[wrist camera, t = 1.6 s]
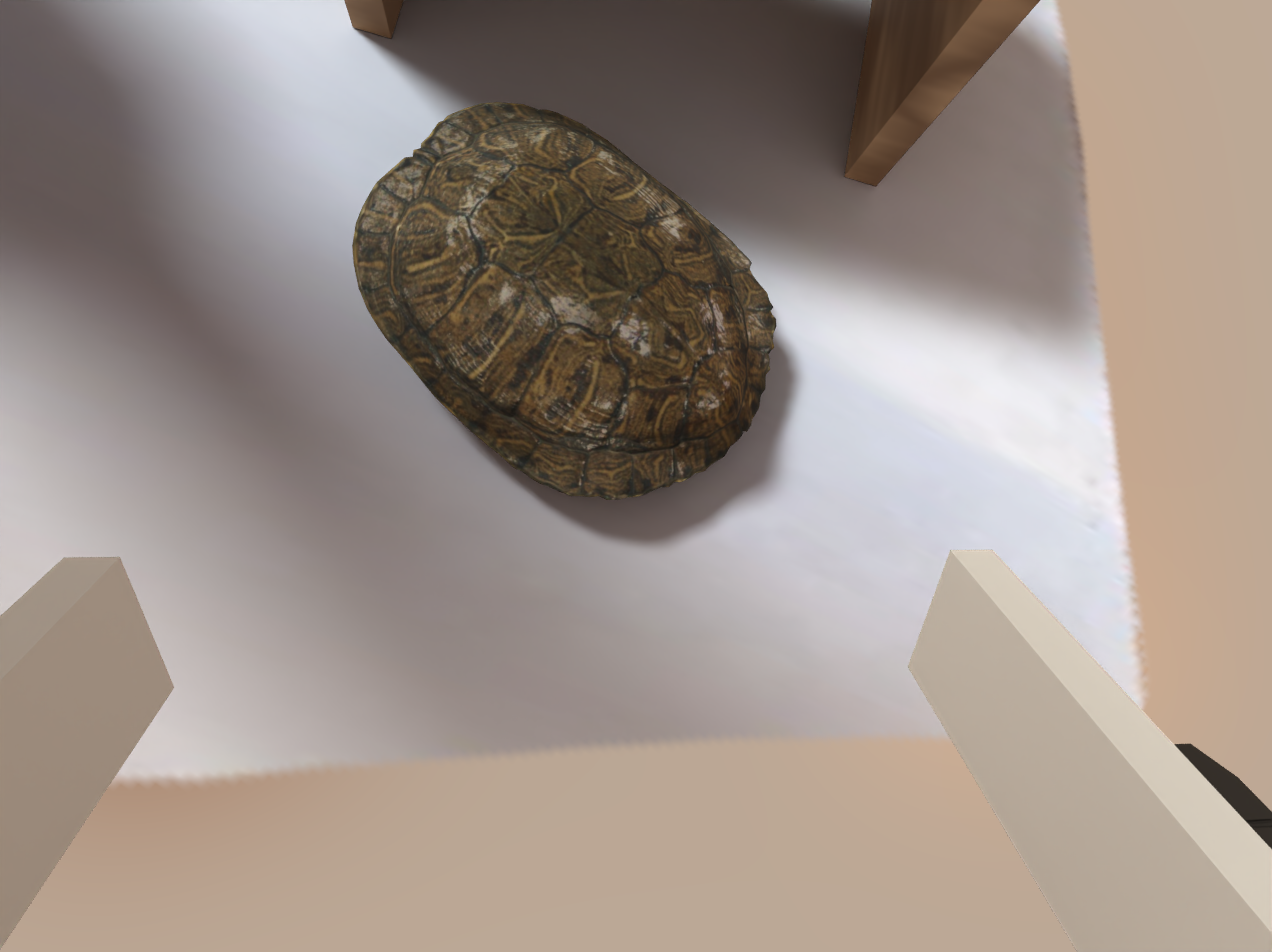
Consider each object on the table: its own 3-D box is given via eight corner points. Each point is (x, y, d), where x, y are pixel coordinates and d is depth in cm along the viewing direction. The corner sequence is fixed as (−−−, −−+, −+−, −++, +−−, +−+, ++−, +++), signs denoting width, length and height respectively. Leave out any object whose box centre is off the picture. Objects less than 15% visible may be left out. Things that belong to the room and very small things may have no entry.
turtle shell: (671, 578, 27) (248, 236, 23) (613, 557, 36) (298, 306, 31) (875, 295, 30) (540, -50, 26) (777, 338, 39) (513, 84, 35)
